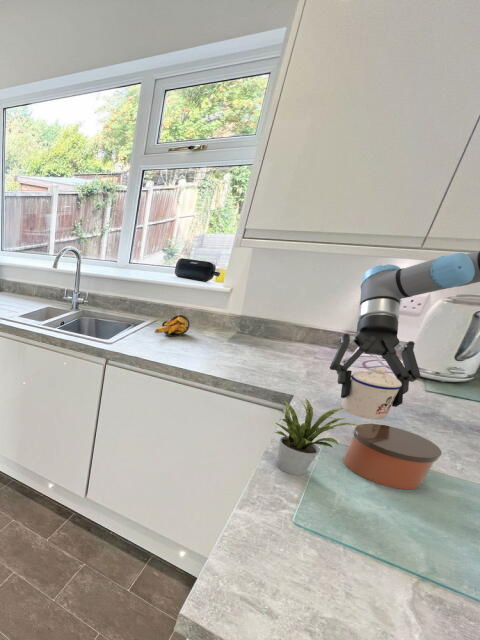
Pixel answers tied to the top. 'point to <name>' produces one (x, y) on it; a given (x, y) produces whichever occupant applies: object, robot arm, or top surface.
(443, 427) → the top surface
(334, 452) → the top surface
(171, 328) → the fried shrimp in bowl
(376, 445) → the storage jar
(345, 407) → the teacup with lid
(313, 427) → the house plant
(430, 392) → the top surface
